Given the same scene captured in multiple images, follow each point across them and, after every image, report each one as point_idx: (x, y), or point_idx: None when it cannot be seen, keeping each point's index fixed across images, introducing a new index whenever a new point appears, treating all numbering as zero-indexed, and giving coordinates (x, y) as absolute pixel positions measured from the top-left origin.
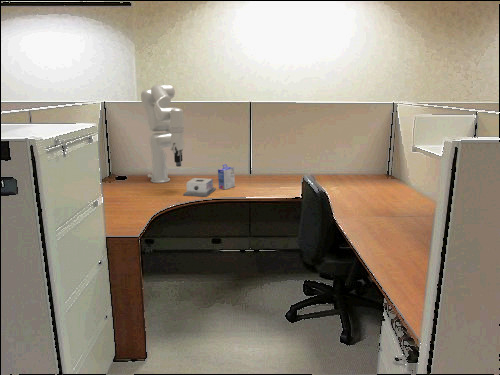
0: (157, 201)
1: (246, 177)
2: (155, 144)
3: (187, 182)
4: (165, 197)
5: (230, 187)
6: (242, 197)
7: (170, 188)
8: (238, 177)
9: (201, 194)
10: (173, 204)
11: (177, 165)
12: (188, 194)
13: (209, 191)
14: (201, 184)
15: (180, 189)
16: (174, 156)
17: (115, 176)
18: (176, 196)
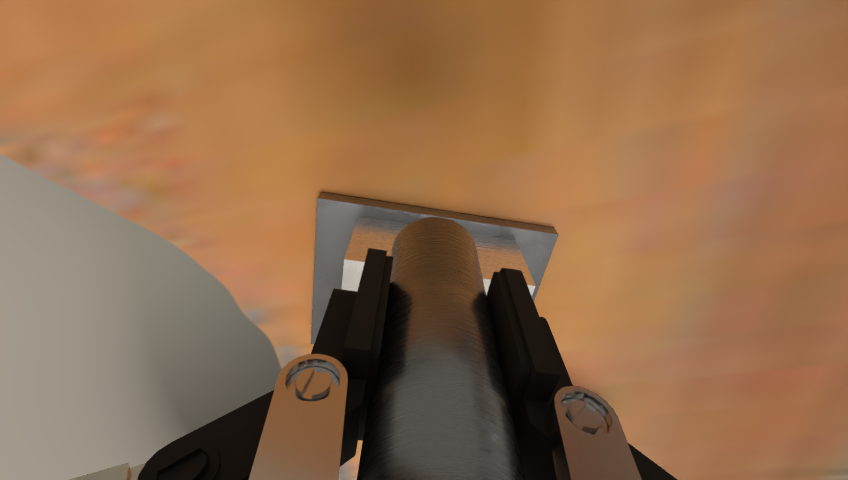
0: (82, 11)
1: (797, 461)
2: None
3: (343, 267)
4: (232, 52)
5: None
6: (340, 471)
7: (570, 10)
8: (817, 430)
9: (317, 317)
10: (65, 173)
11: (391, 255)
12: (317, 234)
13: None
14: None
15: (522, 123)
16: (349, 330)
17: None
18: (286, 143)
